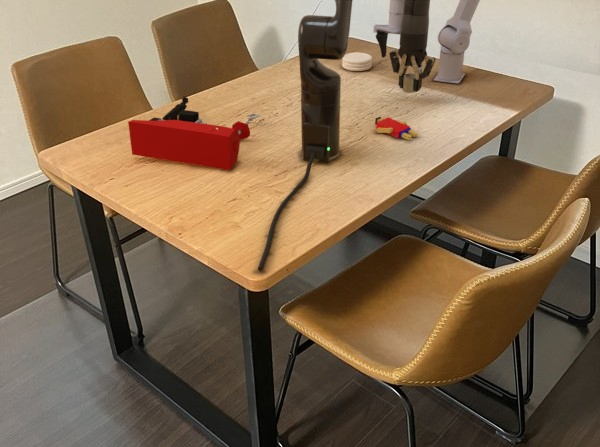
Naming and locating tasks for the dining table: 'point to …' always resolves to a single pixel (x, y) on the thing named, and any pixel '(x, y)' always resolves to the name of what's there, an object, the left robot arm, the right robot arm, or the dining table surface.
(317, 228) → the dining table surface
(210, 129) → the electric hoist
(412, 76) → the canister
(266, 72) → the dining table surface
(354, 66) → the white ridged disc
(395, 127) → the toy figure
